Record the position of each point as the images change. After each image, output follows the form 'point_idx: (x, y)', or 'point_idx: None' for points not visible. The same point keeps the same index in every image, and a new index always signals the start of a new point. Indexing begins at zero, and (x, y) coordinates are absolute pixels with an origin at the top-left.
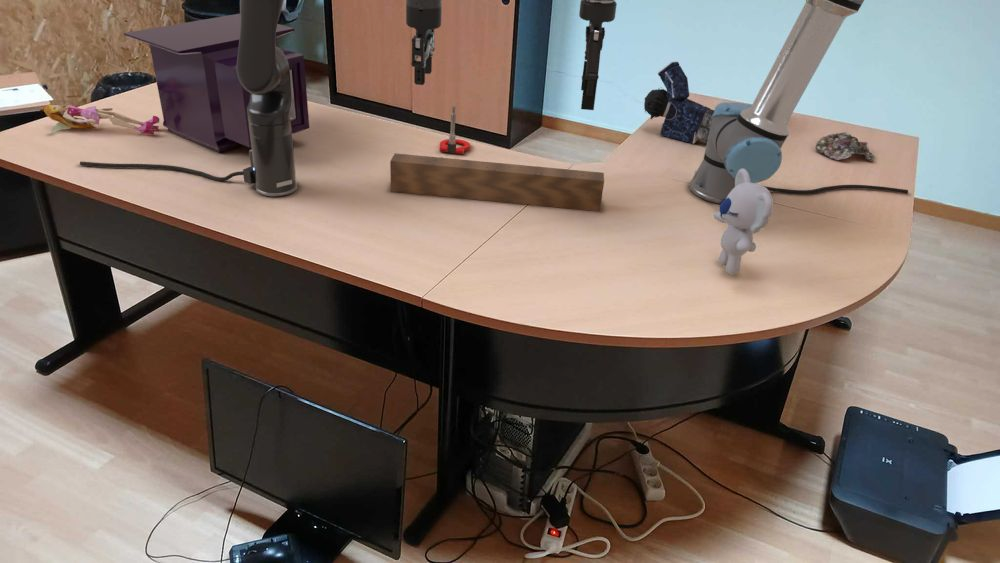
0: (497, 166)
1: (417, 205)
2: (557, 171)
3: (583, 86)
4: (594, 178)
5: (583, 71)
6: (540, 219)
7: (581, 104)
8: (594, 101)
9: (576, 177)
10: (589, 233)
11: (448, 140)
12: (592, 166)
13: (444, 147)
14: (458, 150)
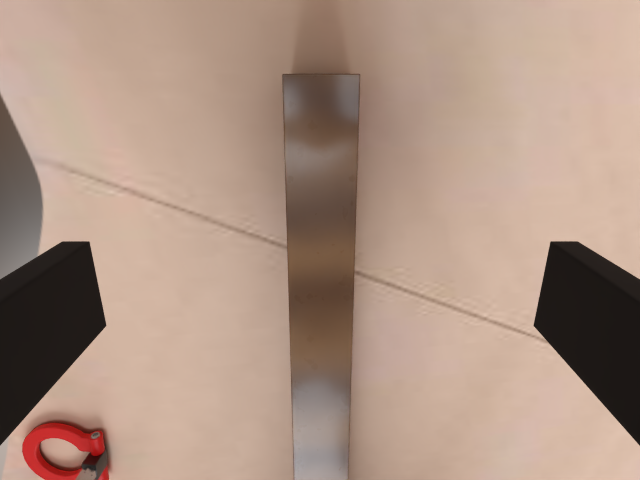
0: (318, 394)
1: (394, 470)
2: (313, 235)
3: (88, 329)
4: (344, 110)
5: (6, 437)
6: (423, 236)
7: (551, 341)
8: (625, 272)
9: (348, 174)
10: (489, 109)
11: (43, 471)
12: (20, 94)
13: (101, 476)
14: (100, 447)
